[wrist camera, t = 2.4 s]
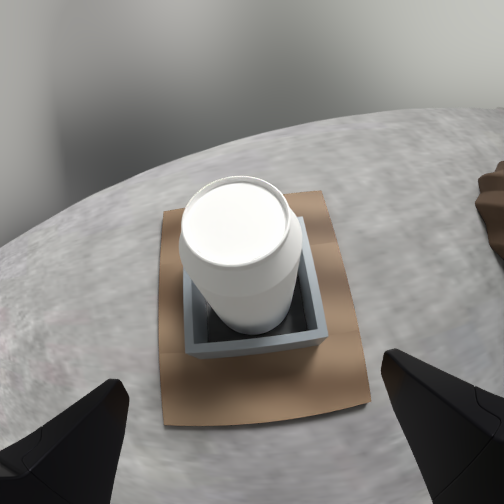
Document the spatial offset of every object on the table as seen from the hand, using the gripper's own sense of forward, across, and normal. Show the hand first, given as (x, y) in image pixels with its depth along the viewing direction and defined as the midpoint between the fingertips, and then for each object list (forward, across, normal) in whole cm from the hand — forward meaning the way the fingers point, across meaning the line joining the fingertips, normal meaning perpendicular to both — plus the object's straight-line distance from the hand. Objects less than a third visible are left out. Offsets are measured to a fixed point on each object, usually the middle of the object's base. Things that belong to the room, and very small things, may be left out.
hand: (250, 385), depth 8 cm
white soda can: (+14, 0, +4) cm, 15 cm away
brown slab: (+14, 0, +4) cm, 15 cm away
